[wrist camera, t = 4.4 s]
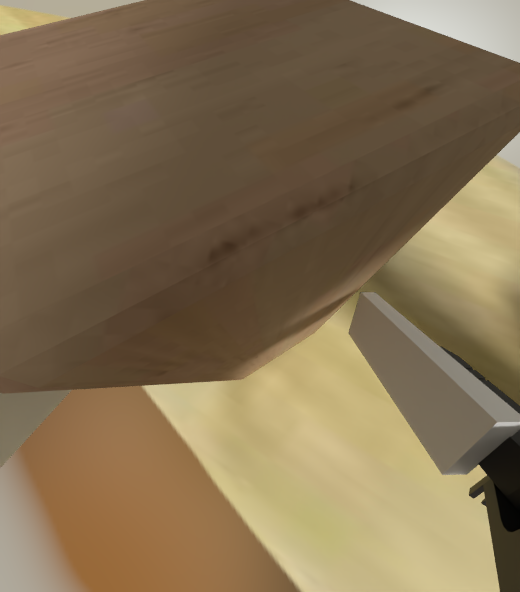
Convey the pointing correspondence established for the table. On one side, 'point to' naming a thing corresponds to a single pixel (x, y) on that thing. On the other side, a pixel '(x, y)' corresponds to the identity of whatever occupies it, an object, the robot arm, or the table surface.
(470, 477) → the table surface
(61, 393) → the robot arm
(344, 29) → the wooden block
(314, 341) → the table surface
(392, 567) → the table surface
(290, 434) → the table surface
